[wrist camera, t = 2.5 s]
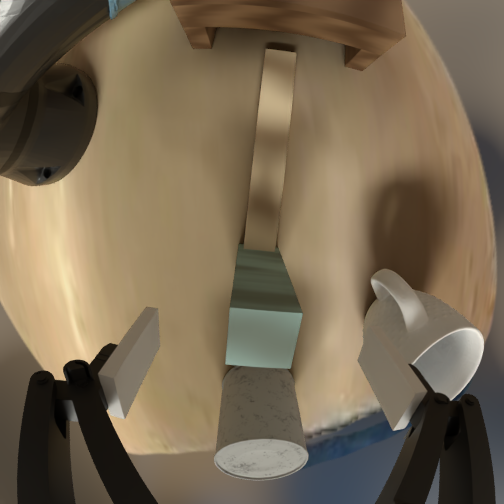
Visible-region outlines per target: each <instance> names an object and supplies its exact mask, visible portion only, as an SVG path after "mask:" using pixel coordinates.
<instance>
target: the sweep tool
mask: <svg viewBox="0 0 504 504" xmlns="http://www.w3.org/2000/svg"><path fill="white" fill-rule="evenodd" d="M296 55H297V53H294V52H287V51H280V50H273V49H266V50H265V58H264V66H263V75H262V83H261V92H260V100H259V109H258V118H257V127H256V136H255V145H254V154H253V163H252V172H251V181H250V191H249V200H248V210H247V219H246V229H245V239H244V244H239V247H238V254H237V261H236V268H235V275H234V282H233V289H232V296H231V303H230V312H229V325H228V337H227V350H226V363H225V364H227V365H238V366H250V367H265V368H286V369H290V368H291V364H292V360H293V356H294V351H295V347H296V343H297V338H298V333H299V329H300V324H301V319H302V315H303V313H302V310H301V307H300V304H299V302H298V299H297V296H296V293H295V291H294V288H293V285H292V283H291V280H290V277H289V275H288V272H287V269H286V267H285V264H284V262H283V259H282V256H281V254H280V251H279V248H277V247H276V240H277V232H278V224H279V216H280V208H281V200H282V192H283V183H284V174H285V166H286V157H287V148H288V138H289V129H290V119H291V109H292V99H293V89H294V78H295V66H296Z"/></svg>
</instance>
